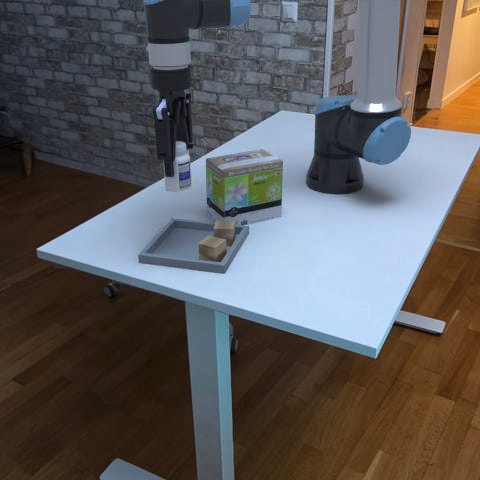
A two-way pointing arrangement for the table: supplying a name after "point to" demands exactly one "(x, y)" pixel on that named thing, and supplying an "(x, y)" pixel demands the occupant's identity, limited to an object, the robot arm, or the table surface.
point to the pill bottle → (183, 166)
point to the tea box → (244, 187)
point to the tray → (189, 246)
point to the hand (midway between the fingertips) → (178, 185)
